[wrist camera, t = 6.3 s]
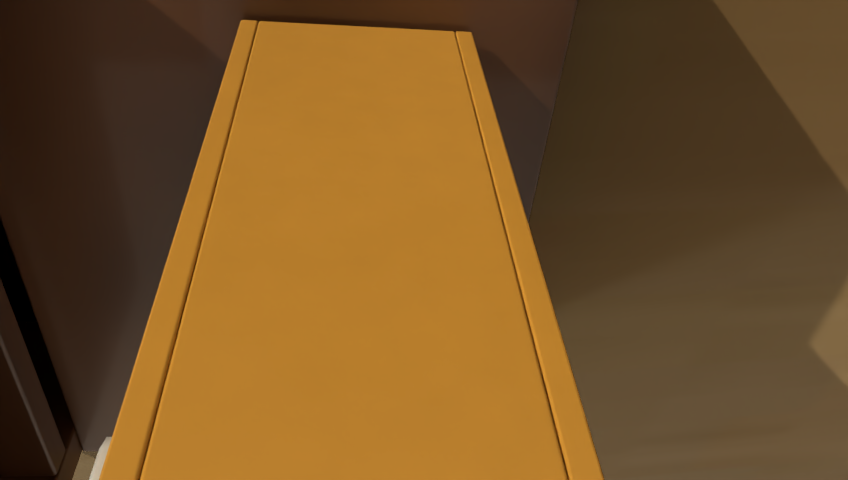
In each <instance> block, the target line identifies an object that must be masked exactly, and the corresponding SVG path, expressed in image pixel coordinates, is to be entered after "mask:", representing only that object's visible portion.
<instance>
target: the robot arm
mask: <svg viewBox="0 0 848 480" xmlns="http://www.w3.org/2000/svg"><path fill="white" fill-rule="evenodd" d="M111 439H112V437H106V439H105V440H104V442H103V443H102V445H101V447H100V448H99V451H98V454H97V457H96V460H95V463H94V466H93V469H92V472H91V476H90V479H89V480H99V478H100V474H101V471H102V468H103V465H104V461H105V458H106V455H107V452H108V448H109V445H110V442H111Z"/></svg>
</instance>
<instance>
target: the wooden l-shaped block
mask: <svg viewBox="0 0 848 480" xmlns="http://www.w3.org/2000/svg"><path fill="white" fill-rule="evenodd" d="M577 4H578V0H0V219H1V221H2V224H3V227H4V230H5V233H6V235H7V238H8V241H9V244H10V247H11V250H12V252H13V255H14V258H15V261H16V264H17V266H18V269H19V272H20V275H21V278H22V280H23V283H24V286H25V289H26V292H27V295H28V297H29V300H30V303H31V306H32V309H33V311H34V314H35V317H36V320H37V322H17V321H16V318H15V315H14V313H13V310H12V307H11V305H10V302H9V300H8V297H7V294H6V292H5V289H4V286H3V284H2V281H1V279H0V480H72V478H73V475H74V472H75V469H76V466H77V463H78V460H79V457H80V454H81V451H82V449H83V451H99V448H100V447H101V445H102V443H103V442H104V440H105V439H106V437H112V435H113V432H114V429H115V426H116V423H117V419H118V416H119V413H120V410H121V406H122V403H123V400H124V397H125V393H126V390H127V387H128V384H129V380H130V377H131V374H132V371H133V368H134V364H135V361H136V358H137V355H138V351H139V348H140V345H141V342H142V338H143V335H144V332H145V329H146V325H147V322H148V319H149V316H150V313H151V309H152V306H153V303H154V300H155V296H156V293H157V290H158V287H159V283H160V280H161V277H162V274H163V270H164V267H165V264H166V261H167V258H168V254H169V251H170V248H171V245H172V241H173V238H174V235H175V232H176V228H177V225H178V222H179V219H180V215H181V212H182V209H183V206H184V203H185V199H186V196H187V193H188V190H189V186H190V183H191V180H192V177H193V173H194V170H195V167H196V164H197V160H198V157H199V154H200V151H201V147H202V144H203V141H204V138H205V135H206V131H207V128H208V125H209V122H210V118H211V115H212V112H213V109H214V105H215V102H216V99H217V96H218V92H219V89H220V86H221V83H222V80H223V76H224V73H225V70H226V67H227V63H228V60H229V57H230V54H231V50H232V47H233V44H234V41H235V37H236V34H237V31H238V28H239V25H240V21H241V20H255V21H258V23H259V22H260V21H268V22H287V23H306V24H325V25H344V26H363V27H382V28H401V29H420V30H439V31H453V32H455V33H456V31H463V32H472V35H473V39H474V42H475V45H476V49H477V52H478V56H479V59H480V62H481V66H482V69H483V72H484V76H485V79H486V82H487V86H488V89H489V93H490V96H491V99H492V103H493V106H494V109H495V113H496V116H497V120H498V123H499V126H500V130H501V133H502V136H503V140H504V143H505V146H506V150H507V153H508V157H509V160H510V163H511V167H512V170H513V173H514V177H515V180H516V184H517V187H518V190H519V194H520V197H521V200H522V204H523V207H524V210H525V214H526V217H527V221H528V223H529V219H530V214H531V210H532V205H533V201H534V196H535V192H536V187H537V183H538V178H539V174H540V169H541V165H542V160H543V156H544V152H545V147H546V143H547V138H548V134H549V129H550V125H551V120H552V116H553V111H554V107H555V102H556V98H557V93H558V89H559V85H560V80H561V76H562V71H563V67H564V62H565V58H566V53H567V49H568V44H569V40H570V35H571V31H572V26H573V22H574V18H575V13H576V9H577Z"/></svg>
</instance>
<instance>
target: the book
mask: <svg viewBox="0 0 848 480" xmlns="http://www.w3.org/2000/svg"><path fill="white" fill-rule="evenodd" d="M99 480H604V477H603V473H602V470H601V467H600V463H599V460H598V456H597V453H596V450H595V446H594V443H593V440H592V436H591V433H590V429H589V426H588V423H587V419H586V416H585V413H584V409H583V406H582V403H581V399H580V396H579V392H578V389H577V386H576V382H575V379H574V376H573V372H572V369H571V365H570V362H569V359H568V355H567V352H566V349H565V345H564V342H563V339H562V335H561V332H560V328H559V325H558V322H557V318H556V315H555V312H554V308H553V305H552V301H551V298H550V295H549V291H548V288H547V285H546V281H545V278H544V274H543V271H542V268H541V264H540V261H539V258H538V254H537V251H536V248H535V244H534V241H533V237H532V234H531V231H530V227H529V224H528V221H527V217H526V214H525V210H524V207H523V204H522V200H521V197H520V194H519V190H518V187H517V184H516V180H515V177H514V173H513V170H512V167H511V163H510V160H509V157H508V153H507V150H506V146H505V143H504V140H503V136H502V133H501V130H500V126H499V123H498V120H497V116H496V113H495V109H494V106H493V103H492V99H491V96H490V93H489V89H488V86H487V82H486V79H485V76H484V72H483V69H482V66H481V62H480V59H479V56H478V52H477V49H476V45H475V42H474V39H473V35H472V32H463V31H456V33H455V32H453V31H439V30H420V29H401V28H382V27H363V26H344V25H325V24H306V23H287V22H268V21H260V22H259V23H258V21H255V20H241V21H240V25H239V28H238V31H237V34H236V37H235V41H234V44H233V47H232V50H231V54H230V57H229V60H228V63H227V67H226V70H225V73H224V76H223V80H222V83H221V86H220V89H219V92H218V96H217V99H216V102H215V105H214V109H213V112H212V115H211V118H210V122H209V125H208V128H207V131H206V135H205V138H204V141H203V144H202V147H201V151H200V154H199V157H198V160H197V164H196V167H195V170H194V173H193V177H192V180H191V183H190V186H189V190H188V193H187V196H186V199H185V203H184V206H183V209H182V212H181V215H180V219H179V222H178V225H177V228H176V232H175V235H174V238H173V241H172V245H171V248H170V251H169V254H168V258H167V261H166V264H165V267H164V270H163V274H162V277H161V280H160V283H159V287H158V290H157V293H156V296H155V300H154V303H153V306H152V309H151V313H150V316H149V319H148V322H147V325H146V329H145V332H144V335H143V338H142V342H141V345H140V348H139V351H138V355H137V358H136V361H135V364H134V368H133V371H132V374H131V377H130V380H129V384H128V387H127V390H126V393H125V397H124V400H123V403H122V406H121V410H120V413H119V416H118V419H117V423H116V426H115V429H114V432H113V435H112V439H111V442H110V445H109V448H108V452H107V455H106V458H105V461H104V465H103V468H102V471H101V474H100V478H99Z"/></svg>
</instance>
